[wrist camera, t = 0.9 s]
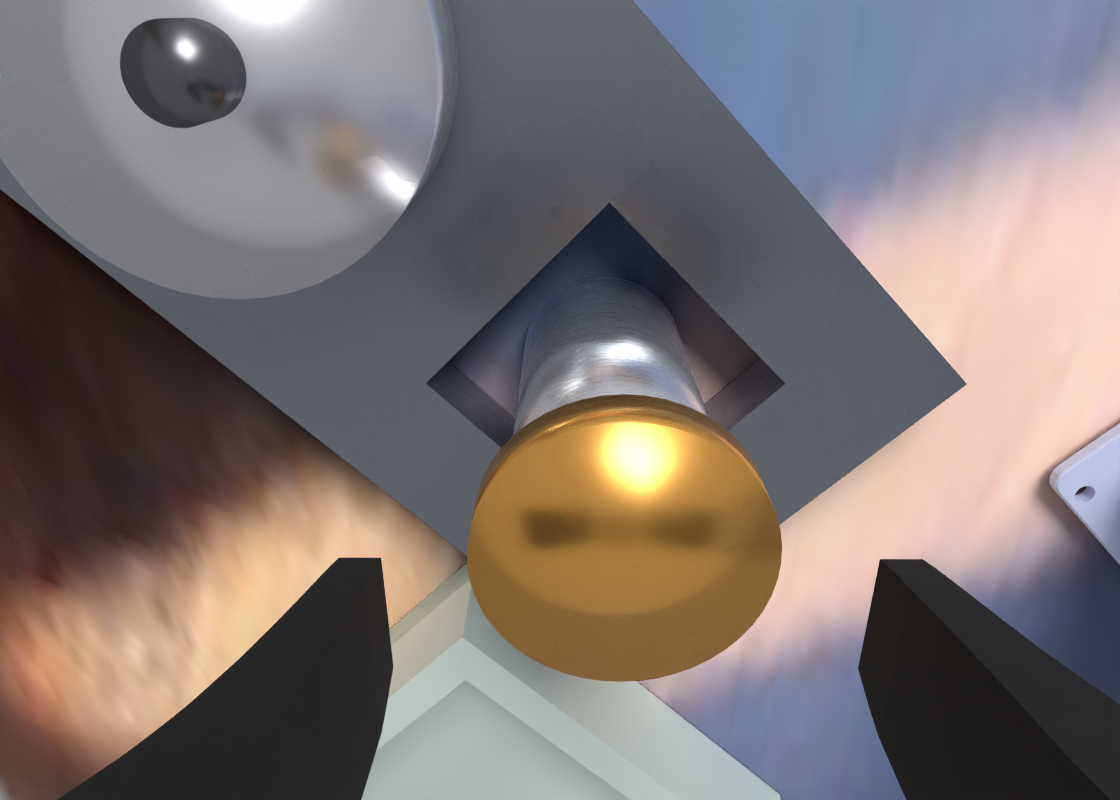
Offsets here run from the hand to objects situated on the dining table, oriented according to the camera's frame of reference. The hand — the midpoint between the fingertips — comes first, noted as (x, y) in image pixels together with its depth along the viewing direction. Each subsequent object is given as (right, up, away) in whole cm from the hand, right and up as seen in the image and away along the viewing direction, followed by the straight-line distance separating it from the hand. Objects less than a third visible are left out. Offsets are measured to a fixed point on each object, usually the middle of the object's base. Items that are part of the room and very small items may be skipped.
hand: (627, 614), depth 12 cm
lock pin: (0, +4, +9) cm, 10 cm away
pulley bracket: (-3, +8, +8) cm, 11 cm away
